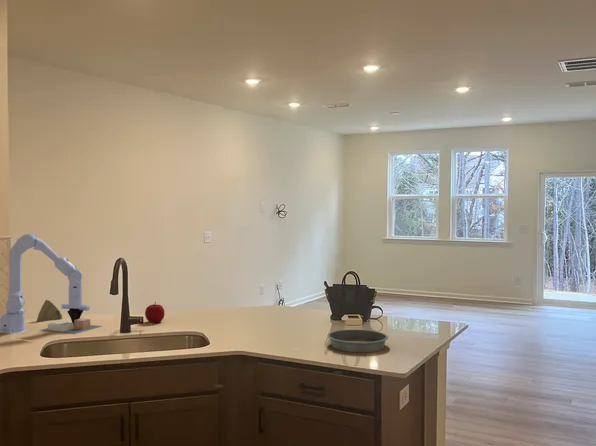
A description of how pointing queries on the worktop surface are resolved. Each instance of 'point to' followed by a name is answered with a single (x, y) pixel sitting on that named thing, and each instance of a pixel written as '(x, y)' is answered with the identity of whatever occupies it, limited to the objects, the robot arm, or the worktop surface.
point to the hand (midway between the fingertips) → (75, 325)
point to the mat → (73, 330)
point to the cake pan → (355, 334)
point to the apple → (154, 313)
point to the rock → (49, 312)
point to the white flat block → (60, 326)
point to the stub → (81, 323)
